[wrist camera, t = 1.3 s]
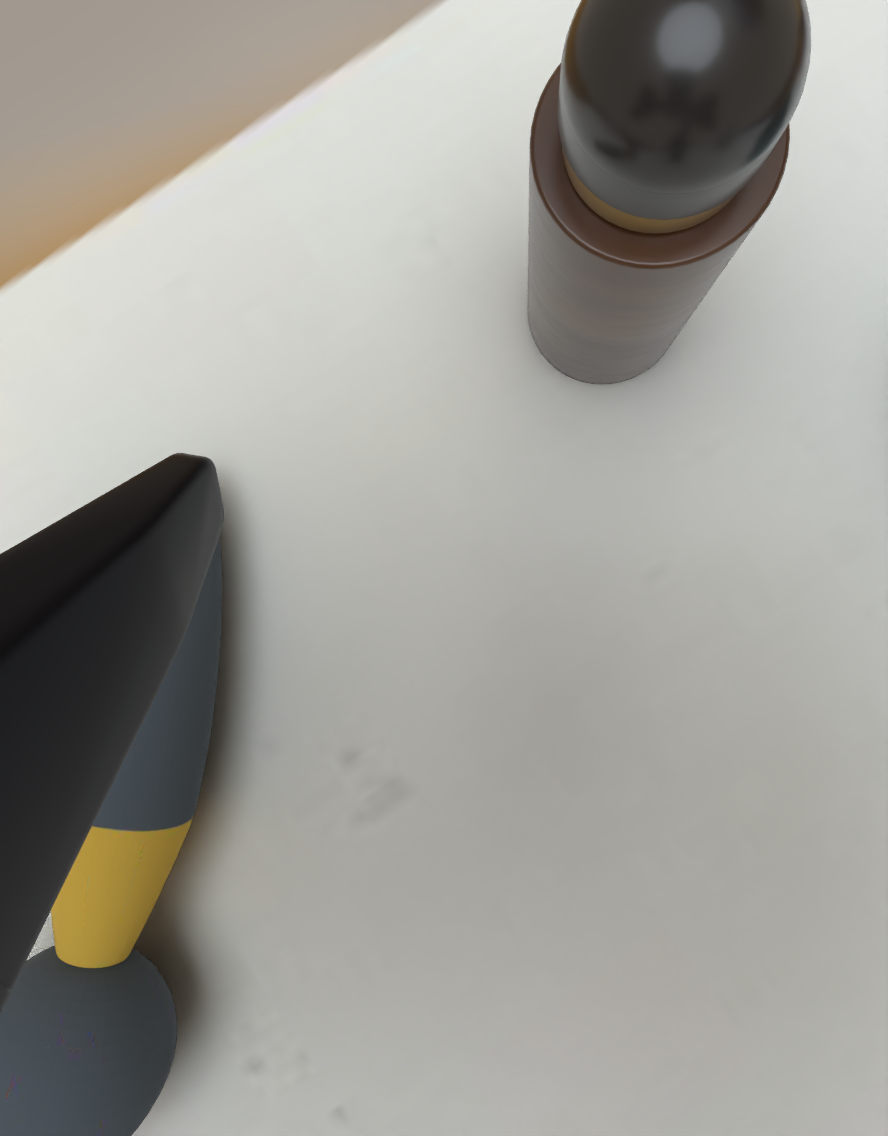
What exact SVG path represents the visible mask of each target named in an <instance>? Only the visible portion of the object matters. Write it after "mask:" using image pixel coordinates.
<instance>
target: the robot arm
mask: <svg viewBox="0 0 888 1136" xmlns="http://www.w3.org/2000/svg"><path fill="white" fill-rule="evenodd" d="M223 521H224V509H223V503H222V498H221V493H220V488H219V483H218V478H217V472H216V468H215V465H214V463H213V462H212V461H211V460H210V459H209V458H207V457H202V456H196V455H190V454H185V453H176V454H173V455H171V456H169V457H167V458H166V459H164V460H162V461H161V462H159V463H157V464H155V465H154V466H152V467H150V468H148V469H147V470H145V471H143V472H142V473H140V474H138V475H136V476H135V477H133V478H131V479H129V480H128V481H126V482H124V483H123V484H121V485H119V486H117V487H116V488H114V489H112V490H110V491H109V492H107V493H105V494H104V495H102V496H100V497H98V498H97V499H95V500H93V501H91V502H90V503H88V504H86V505H85V506H83V507H81V508H79V509H78V510H76V511H74V512H72V513H71V514H69V515H67V516H66V517H64V518H62V519H60V520H59V521H57V522H55V523H53V524H52V525H50V526H48V527H47V528H45V529H43V530H41V531H40V532H38V533H36V534H34V535H33V536H31V537H29V538H28V539H26V540H24V541H22V542H21V543H19V544H17V545H15V546H14V547H12V548H10V549H9V550H7V551H5V552H3V553H2V554H0V1014H1V1012H2V1010H3V1008H4V1006H5V1004H6V1002H7V1000H8V998H9V996H10V990H9V989H12V988H13V986H14V984H15V982H16V980H17V978H18V976H19V974H20V972H21V970H22V968H23V966H24V964H25V962H26V960H27V958H28V956H29V954H30V952H31V950H32V948H33V946H34V944H35V942H36V939H37V937H38V935H39V933H40V931H41V929H42V927H43V925H44V923H45V921H46V919H47V917H48V915H49V913H50V911H51V909H52V907H53V905H54V903H55V901H56V899H57V897H58V895H59V893H60V890H61V888H62V886H63V884H64V882H65V880H66V878H67V876H68V874H69V872H70V870H71V868H72V866H73V864H74V862H75V860H76V858H77V856H78V854H79V852H80V850H81V848H82V846H83V843H84V841H85V839H86V837H87V835H88V833H89V831H90V829H91V827H92V825H93V823H94V821H95V819H96V817H97V815H98V813H99V811H100V809H101V807H102V805H103V803H104V801H105V799H106V796H107V794H108V792H109V790H110V788H111V786H112V784H113V782H114V780H115V778H116V776H117V774H118V772H119V770H120V768H121V766H122V764H123V762H124V760H125V758H126V756H127V754H128V752H129V750H130V747H131V745H132V743H133V741H134V739H135V737H136V735H137V733H138V731H139V729H140V727H141V725H142V723H143V721H144V719H145V717H146V715H147V713H148V711H149V709H150V707H151V705H152V703H153V700H154V698H155V696H156V694H157V692H158V690H159V688H160V686H161V684H162V682H163V680H164V678H165V676H166V674H167V672H168V670H169V668H170V666H171V664H172V662H173V660H174V658H175V656H176V653H177V651H178V649H179V647H180V645H181V642H182V640H183V638H184V636H185V633H186V630H187V628H188V625H189V622H190V620H191V617H192V614H193V611H194V608H195V605H196V603H197V600H198V597H199V594H200V591H201V588H202V585H203V582H204V579H205V577H206V574H207V571H208V568H209V565H210V562H211V559H212V556H213V553H214V551H215V548H216V545H217V542H218V539H219V536H220V533H221V530H222V526H223Z"/></svg>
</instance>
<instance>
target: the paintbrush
mask: <svg viewBox="0 0 888 1136" xmlns="http://www.w3.org/2000/svg"><path fill="white" fill-rule="evenodd" d="M221 617H222V563H221V547H220V536H219V539H218V542H217V545H216V548H215V551H214V553H213V556H212V559H211V562H210V565H209V568H208V571H207V574H206V577H205V579H204V582H203V585H202V588H201V591H200V594H199V597H198V600H197V603H196V605H195V608H194V611H193V614H192V617H191V620H190V622H189V625H188V628H187V630H186V633H185V636H184V638H183V640H182V642H181V645H180V647H179V649H178V651H177V653H176V656H175V658H174V660H173V662H172V664H171V666H170V668H169V670H168V672H167V674H166V676H165V678H164V680H163V682H162V684H161V686H160V688H159V690H158V692H157V694H156V696H155V698H154V700H153V703H152V705H151V707H150V709H149V711H148V713H147V715H146V717H145V719H144V721H143V723H142V725H141V727H140V729H139V731H138V733H137V735H136V737H135V739H134V741H133V743H132V745H131V747H130V750H129V752H128V754H127V756H126V758H125V760H124V762H123V764H122V766H121V768H120V770H119V772H118V774H117V776H116V778H115V780H114V782H113V784H112V786H111V788H110V790H109V792H108V794H107V796H106V799H105V801H104V803H103V805H102V807H101V809H100V811H99V813H98V815H97V817H96V819H95V821H94V823H93V825H92V827H91V829H90V831H89V833H88V835H87V837H86V839H85V841H84V843H83V846H82V848H81V850H80V852H79V854H78V856H77V858H76V860H75V862H74V864H73V866H72V868H71V870H70V872H69V874H68V876H67V878H66V880H65V882H64V884H63V886H62V888H61V890H60V893H59V895H58V897H57V899H56V901H55V903H54V905H53V907H52V909H51V915H52V925H53V933H54V941H55V946H52V947H50V948H48V949H46V950H44V951H42V952H40V953H39V954H37V955H35V956H33V957H32V958H30V959H29V960H27V961H26V962H25V964H24V966H23V968H22V970H21V972H20V974H19V976H18V978H17V980H16V982H15V984H14V986H13V988H12V989H9V990H10V996H9V998H8V1000H7V1002H6V1004H5V1006H4V1008H3V1010H2V1012H1V1014H0V1136H132V1134H133V1133H134V1132H135V1131H136V1129H137V1128H138V1127H139V1125H140V1124H141V1123H142V1121H143V1120H144V1118H145V1117H146V1116H147V1114H148V1113H149V1111H150V1110H151V1108H152V1106H153V1105H154V1103H155V1101H156V1099H157V1098H158V1096H159V1094H160V1092H161V1090H162V1088H163V1086H164V1083H165V1081H166V1079H167V1077H168V1074H169V1072H170V1068H171V1065H172V1061H173V1058H174V1053H175V1047H176V1041H177V1018H176V1011H175V1005H174V1002H173V998H172V995H171V992H170V990H169V988H168V986H167V984H166V981H165V979H164V978H163V976H162V975H161V974H160V972H159V971H158V969H157V968H156V967H155V966H154V965H153V964H152V963H151V962H150V960H148V959H147V958H146V957H145V956H143V955H142V954H140V953H139V952H138V951H136V950H134V949H133V947H134V945H135V943H136V941H137V939H138V937H139V935H140V933H141V931H142V929H143V927H144V925H145V923H146V921H147V919H148V917H149V915H150V913H151V912H152V910H153V908H154V906H155V903H156V901H157V899H158V897H159V895H160V893H161V891H162V888H163V886H164V884H165V882H166V880H167V878H168V875H169V873H170V871H171V869H172V867H173V865H174V863H175V860H176V858H177V856H178V853H179V851H180V849H181V846H182V844H183V842H184V839H185V837H186V835H187V832H188V830H189V828H190V825H191V822H192V819H193V816H194V814H195V810H196V806H197V802H198V798H199V793H200V789H201V784H202V779H203V774H204V769H205V764H206V758H207V752H208V746H209V740H210V735H211V729H212V721H213V713H214V705H215V697H216V689H217V679H218V666H219V653H220V641H221Z"/></svg>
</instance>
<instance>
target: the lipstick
mask: <svg viewBox="0 0 888 1136" xmlns="http://www.w3.org/2000/svg"><path fill="white" fill-rule="evenodd" d="M810 53H811V27H810V18H809V12H808V7H807V4H806V1H805V0H581V2H580V4H579V6H578V8H577V10H576V12H575V14H574V17H573V19H572V22H571V25H570V27H569V30H568V33H567V36H566V41H565V45H564V50H563V55H562V61H561V63H560V65H559V66H558V67H557V69H556V70H555V71H554V73H553V74H552V76H551V77H550V79H549V80H548V82H547V84H546V86H545V88H544V90H543V92H542V94H541V96H540V99H539V102H538V104H537V107H536V110H535V114H534V118H533V123H532V127H531V137H530V166H529V249H528V320H529V326H530V330H531V333H532V336H533V339H534V341H535V343H536V345H537V347H538V349H539V350H540V352H541V353H542V355H543V356H544V357H545V358H546V359H547V360H548V362H549V363H551V364H552V365H553V366H554V367H555V368H556V369H558V370H559V371H561V372H562V373H564V374H565V375H567V376H569V377H571V378H574V379H577V380H580V381H583V382H588V383H595V384H609V383H616V382H621V381H624V380H627V379H630V378H633V377H635V376H637V375H639V374H641V373H643V372H644V371H646V370H647V369H649V368H650V367H651V366H652V365H654V364H655V363H656V362H657V361H658V360H659V359H660V358H661V357H662V356H663V354H664V353H665V352H666V350H667V349H668V347H669V346H670V345H671V343H672V342H673V340H674V339H675V338H676V336H677V335H678V333H679V332H680V330H681V329H682V328H683V326H684V325H685V323H686V322H687V321H688V319H689V318H690V316H691V315H692V313H693V312H694V311H695V309H696V308H697V306H698V305H699V303H700V302H701V301H702V299H703V298H704V296H705V295H706V294H707V292H708V291H709V289H710V288H711V286H712V285H713V284H714V282H715V281H716V279H717V278H718V277H719V275H720V274H721V272H722V271H723V269H724V268H725V267H726V265H727V264H728V262H729V261H730V260H731V258H732V257H733V255H734V254H735V252H736V251H737V250H738V248H739V247H740V245H741V244H742V243H743V241H744V240H745V238H746V237H747V235H748V234H749V233H750V231H751V230H752V228H753V227H754V225H755V224H756V223H757V221H758V220H759V218H760V217H761V216H762V214H763V213H764V211H765V210H766V208H767V207H768V206H769V204H770V202H771V201H772V199H773V197H774V195H775V193H776V191H777V189H778V187H779V184H780V182H781V179H782V176H783V174H784V171H785V166H786V162H787V158H788V151H789V141H790V129H789V122H790V120H791V118H792V116H793V114H794V112H795V110H796V108H797V106H798V103H799V100H800V98H801V95H802V92H803V90H804V85H805V81H806V77H807V73H808V68H809V63H810Z"/></svg>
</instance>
